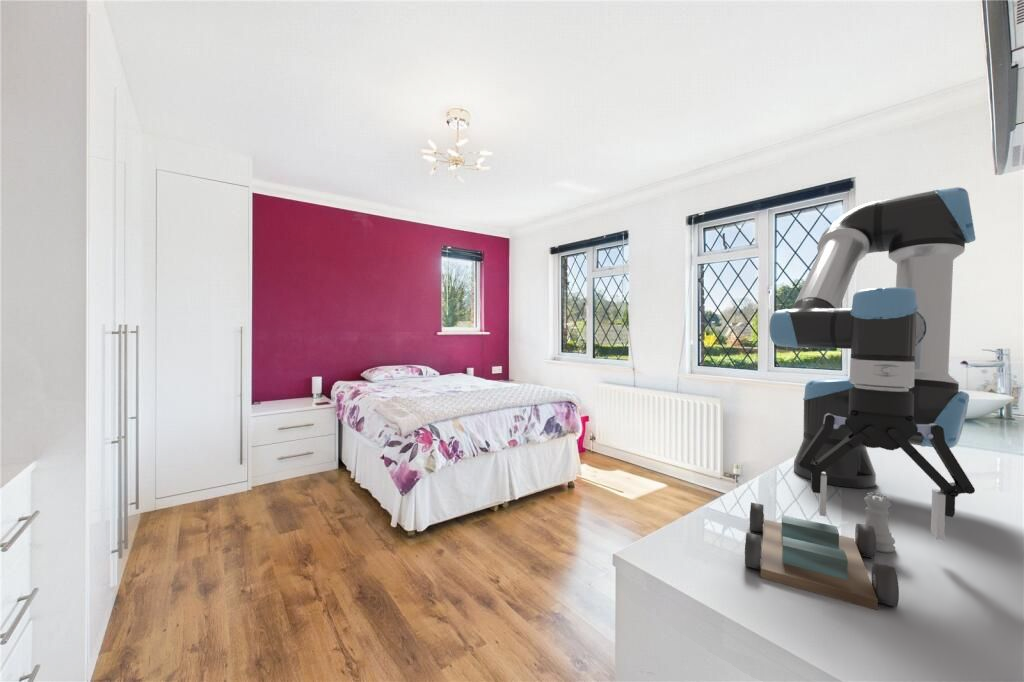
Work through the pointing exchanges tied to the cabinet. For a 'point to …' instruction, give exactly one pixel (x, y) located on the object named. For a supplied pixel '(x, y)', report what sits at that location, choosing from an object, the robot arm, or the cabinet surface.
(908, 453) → the robot arm
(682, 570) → the cabinet surface
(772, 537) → the chassis
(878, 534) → the rook chess piece
